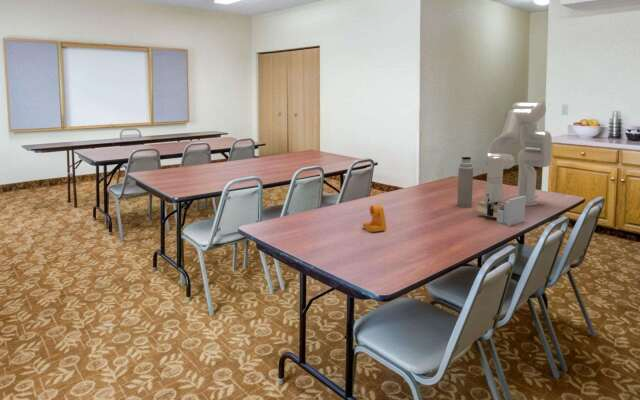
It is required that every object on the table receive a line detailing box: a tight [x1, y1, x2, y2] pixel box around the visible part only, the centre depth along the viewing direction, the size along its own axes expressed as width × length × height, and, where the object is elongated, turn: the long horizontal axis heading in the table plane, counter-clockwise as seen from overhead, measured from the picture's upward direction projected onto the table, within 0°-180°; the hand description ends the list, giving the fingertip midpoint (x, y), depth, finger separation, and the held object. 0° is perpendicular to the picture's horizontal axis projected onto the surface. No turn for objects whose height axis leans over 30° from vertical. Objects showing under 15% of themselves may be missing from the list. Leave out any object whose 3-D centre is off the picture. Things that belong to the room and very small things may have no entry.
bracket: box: [362, 204, 387, 233], centre depth 240 cm, size 11×7×12 cm, turn 23°
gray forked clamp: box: [496, 196, 526, 227], centre depth 249 cm, size 8×13×13 cm, turn 128°
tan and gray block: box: [476, 200, 505, 219], centre depth 256 cm, size 5×16×6 cm, turn 37°
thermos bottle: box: [456, 156, 474, 208], centre depth 283 cm, size 8×8×28 cm
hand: (492, 214), depth 257 cm, fingers closed on tan and gray block, 4 cm apart
